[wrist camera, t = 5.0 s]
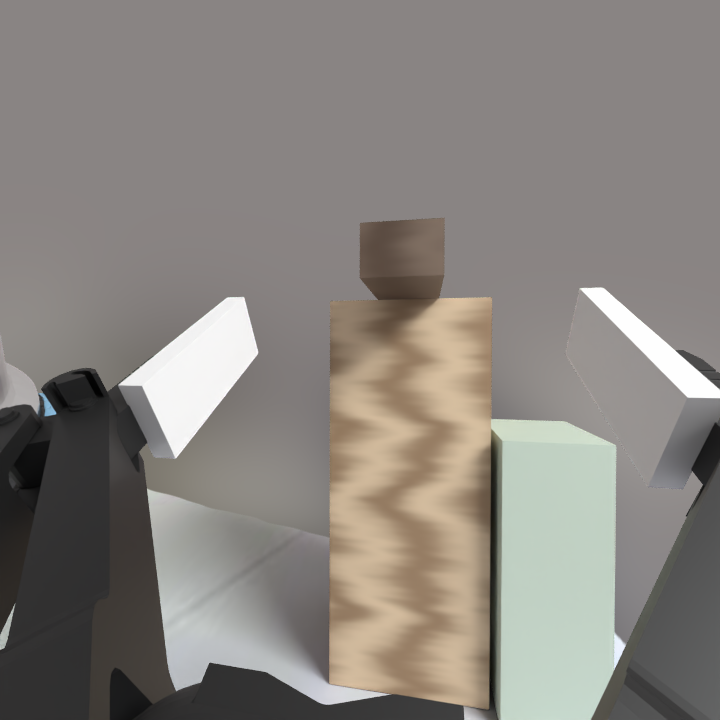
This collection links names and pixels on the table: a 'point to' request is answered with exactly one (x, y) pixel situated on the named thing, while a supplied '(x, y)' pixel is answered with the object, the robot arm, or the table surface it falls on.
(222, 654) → the table surface
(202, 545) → the table surface
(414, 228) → the domino case
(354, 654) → the oak stand
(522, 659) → the green pedestal
